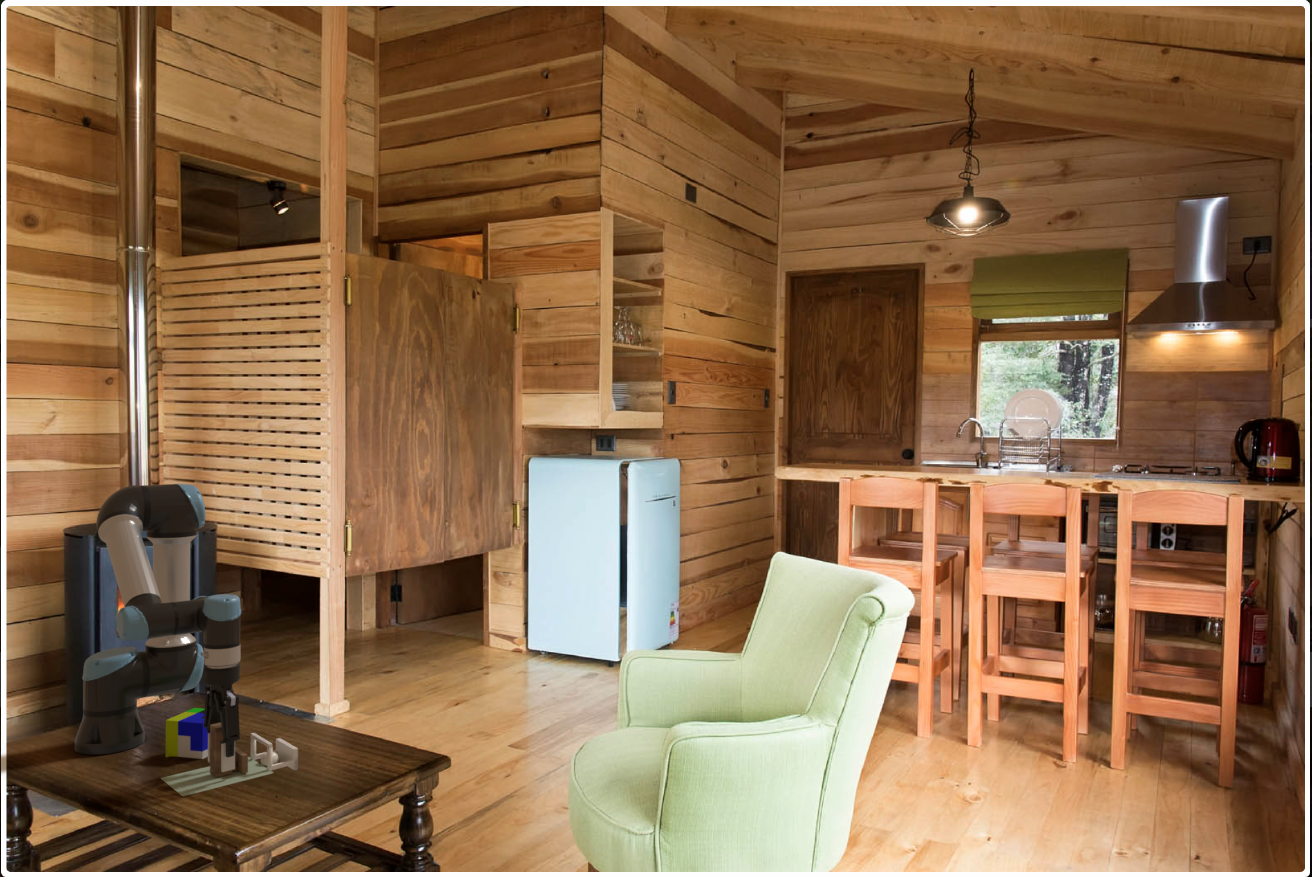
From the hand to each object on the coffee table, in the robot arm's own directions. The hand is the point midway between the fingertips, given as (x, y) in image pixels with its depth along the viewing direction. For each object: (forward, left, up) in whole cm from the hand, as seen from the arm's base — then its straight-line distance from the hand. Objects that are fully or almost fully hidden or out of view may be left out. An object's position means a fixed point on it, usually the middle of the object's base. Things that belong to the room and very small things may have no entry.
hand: (221, 765), depth 210 cm
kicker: (0, +1, -2) cm, 2 cm away
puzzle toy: (-20, +2, -4) cm, 20 cm away
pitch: (0, +2, -4) cm, 4 cm away
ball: (0, +11, -2) cm, 11 cm away
